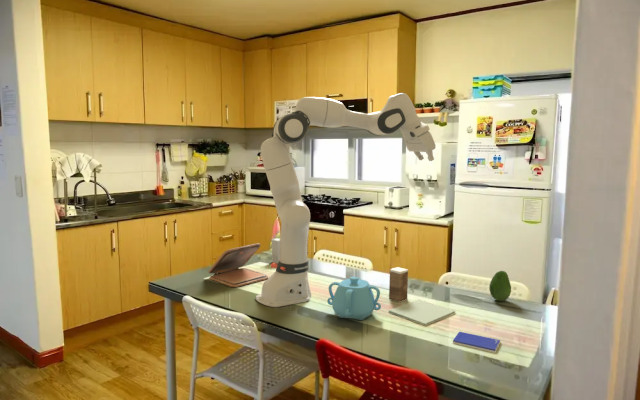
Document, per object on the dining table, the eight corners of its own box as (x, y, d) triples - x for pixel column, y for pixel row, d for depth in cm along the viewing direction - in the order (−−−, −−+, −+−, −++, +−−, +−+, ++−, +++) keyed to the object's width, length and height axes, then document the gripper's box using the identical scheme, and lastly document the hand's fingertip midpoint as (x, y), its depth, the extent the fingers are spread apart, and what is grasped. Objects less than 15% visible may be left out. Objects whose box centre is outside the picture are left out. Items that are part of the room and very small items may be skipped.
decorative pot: (384, 319, 156) (385, 282, 154) (342, 326, 150) (343, 286, 149) (363, 304, 171) (364, 269, 169) (324, 309, 165) (325, 273, 164)
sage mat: (425, 325, 151) (425, 323, 151) (388, 312, 163) (388, 310, 163) (455, 313, 162) (455, 310, 162) (418, 301, 174) (418, 299, 174)
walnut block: (399, 302, 174) (399, 271, 172) (389, 298, 177) (389, 269, 176) (407, 299, 177) (408, 269, 175) (397, 295, 181) (398, 267, 179)
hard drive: (500, 339, 138) (459, 330, 145) (495, 349, 131) (452, 339, 138) (500, 344, 138) (459, 335, 145) (495, 354, 132) (452, 344, 138)
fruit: (510, 299, 178) (512, 269, 176) (510, 305, 171) (511, 274, 169) (489, 296, 181) (491, 267, 180) (487, 302, 174) (489, 272, 172)
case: (243, 270, 217) (242, 237, 215) (271, 279, 203) (270, 244, 201) (206, 279, 203) (205, 244, 201) (233, 289, 188) (232, 252, 186)
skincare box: (285, 263, 230) (285, 239, 228) (278, 264, 227) (277, 241, 225) (278, 260, 234) (278, 237, 233) (271, 262, 231) (271, 238, 230)
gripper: (396, 134, 193) (410, 162, 196) (416, 133, 173) (431, 164, 176) (408, 127, 194) (422, 155, 196) (430, 125, 174) (444, 156, 177)
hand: (426, 159), depth 186 cm, fingers open, 8 cm apart
